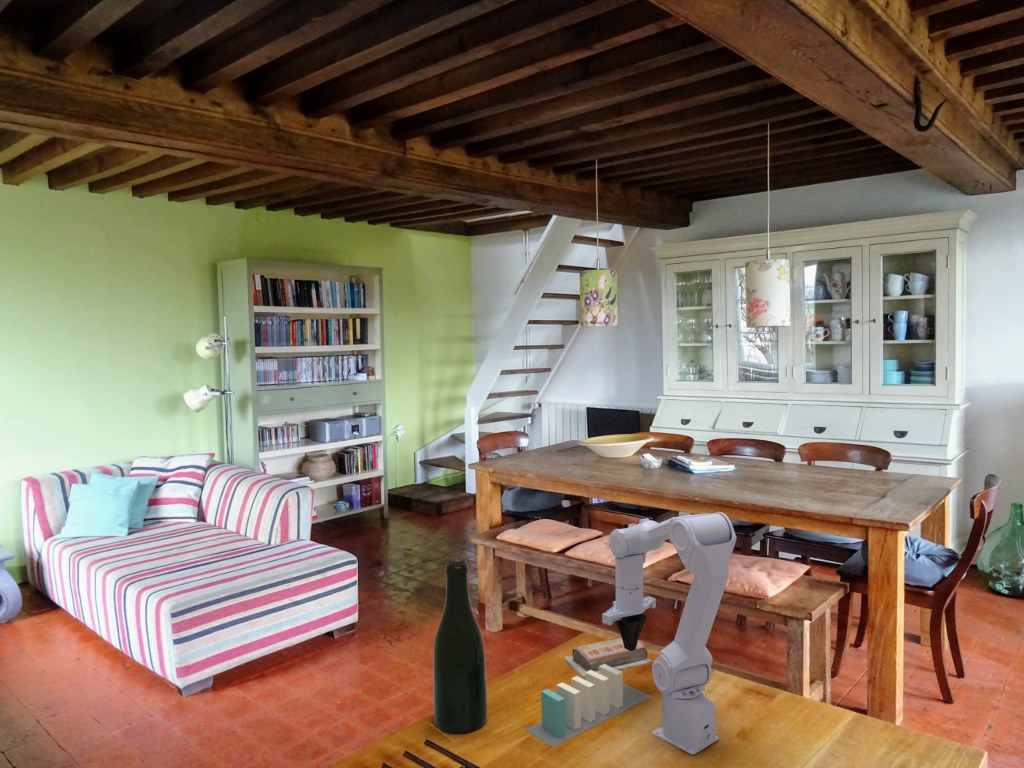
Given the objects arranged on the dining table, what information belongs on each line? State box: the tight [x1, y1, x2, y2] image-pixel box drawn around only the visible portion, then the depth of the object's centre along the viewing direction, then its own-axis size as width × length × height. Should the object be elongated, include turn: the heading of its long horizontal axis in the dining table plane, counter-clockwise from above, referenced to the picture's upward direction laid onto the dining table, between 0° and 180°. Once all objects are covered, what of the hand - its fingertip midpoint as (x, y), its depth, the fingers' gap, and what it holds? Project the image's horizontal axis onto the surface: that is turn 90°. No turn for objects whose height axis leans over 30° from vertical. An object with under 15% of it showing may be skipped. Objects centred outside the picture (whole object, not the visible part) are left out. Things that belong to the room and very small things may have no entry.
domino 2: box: [556, 681, 581, 729], centre depth 144 cm, size 2×5×7 cm, turn 40°
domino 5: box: [599, 664, 624, 708], centre depth 152 cm, size 2×5×7 cm, turn 40°
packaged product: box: [563, 637, 654, 679], centre depth 171 cm, size 18×5×10 cm
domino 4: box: [584, 670, 609, 715], centre depth 149 cm, size 2×5×7 cm, turn 39°
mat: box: [524, 683, 652, 748], centre depth 148 cm, size 8×28×1 cm, turn 130°
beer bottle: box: [432, 555, 488, 735], centre depth 145 cm, size 10×10×33 cm
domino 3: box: [570, 675, 595, 722], centre depth 146 cm, size 2×5×7 cm, turn 40°
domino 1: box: [540, 688, 565, 737], centre depth 141 cm, size 2×5×7 cm, turn 37°
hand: (630, 648), depth 155 cm, fingers closed
